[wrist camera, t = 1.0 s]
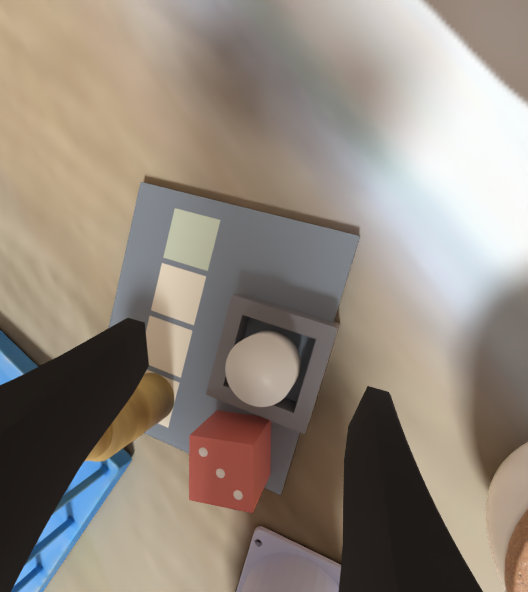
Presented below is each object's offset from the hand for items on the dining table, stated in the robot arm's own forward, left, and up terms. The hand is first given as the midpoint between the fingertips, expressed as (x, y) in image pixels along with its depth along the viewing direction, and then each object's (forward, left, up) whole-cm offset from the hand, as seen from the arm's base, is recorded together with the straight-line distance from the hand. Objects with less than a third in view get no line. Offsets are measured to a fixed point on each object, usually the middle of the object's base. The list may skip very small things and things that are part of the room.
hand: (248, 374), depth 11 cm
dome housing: (-3, +1, -12) cm, 13 cm away
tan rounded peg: (-9, +9, -12) cm, 17 cm away
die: (-9, +2, -12) cm, 15 cm away
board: (-3, +6, -12) cm, 14 cm away
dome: (-3, +1, -10) cm, 11 cm away
